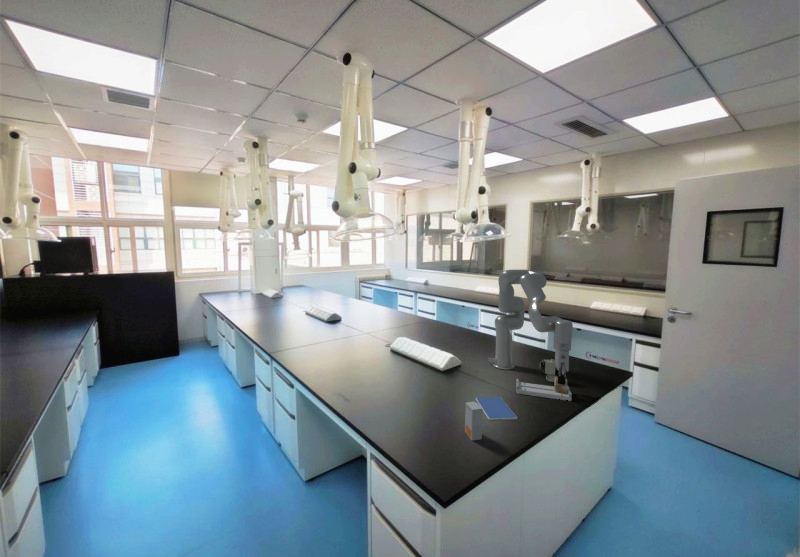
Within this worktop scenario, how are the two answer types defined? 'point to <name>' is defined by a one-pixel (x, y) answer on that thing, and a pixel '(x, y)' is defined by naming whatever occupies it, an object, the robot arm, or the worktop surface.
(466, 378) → the worktop surface
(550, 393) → the fader track
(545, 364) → the pneumatic valve
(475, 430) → the skincare box
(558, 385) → the fader tab
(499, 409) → the tablet computer
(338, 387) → the worktop surface
